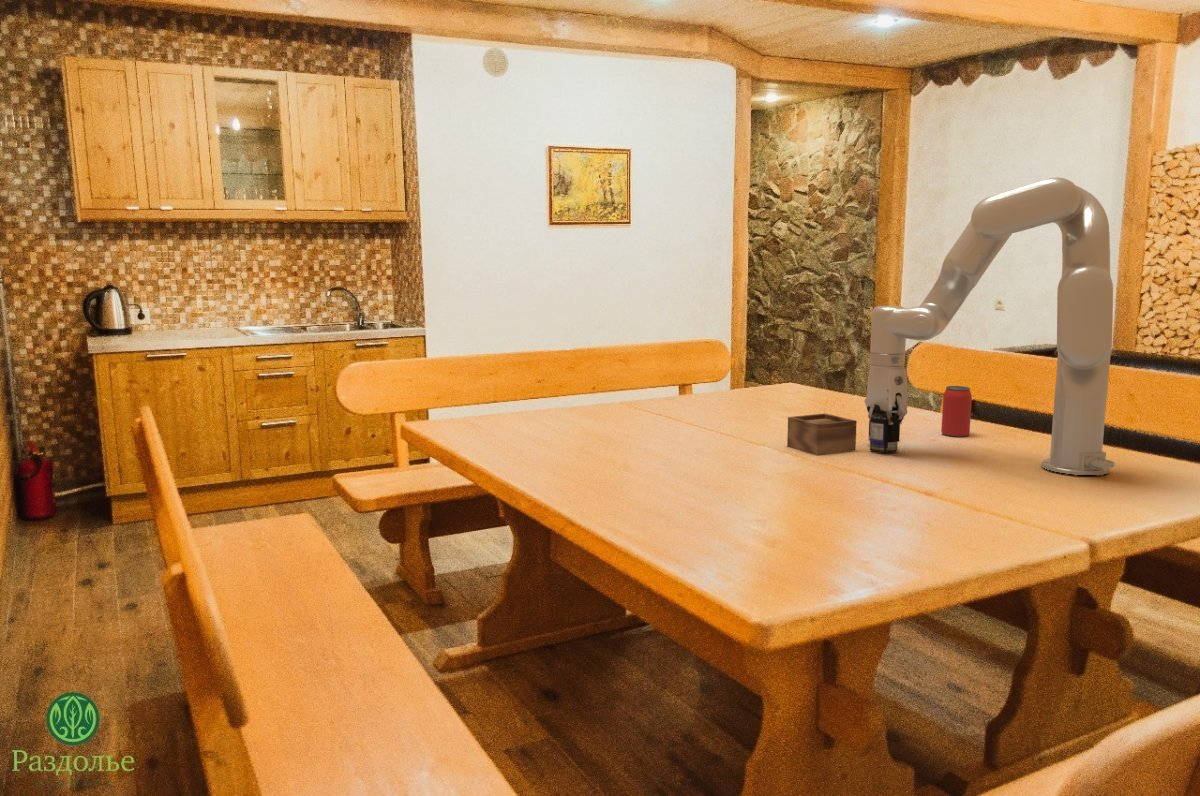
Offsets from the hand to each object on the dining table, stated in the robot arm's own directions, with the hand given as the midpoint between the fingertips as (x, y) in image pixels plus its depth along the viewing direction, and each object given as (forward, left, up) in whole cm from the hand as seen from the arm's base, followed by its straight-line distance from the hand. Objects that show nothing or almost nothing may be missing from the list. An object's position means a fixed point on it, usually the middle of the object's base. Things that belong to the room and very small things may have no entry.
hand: (883, 438), depth 205 cm
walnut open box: (+7, +12, -3) cm, 14 cm away
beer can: (+12, -28, -3) cm, 31 cm away
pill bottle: (0, 0, -3) cm, 3 cm away
